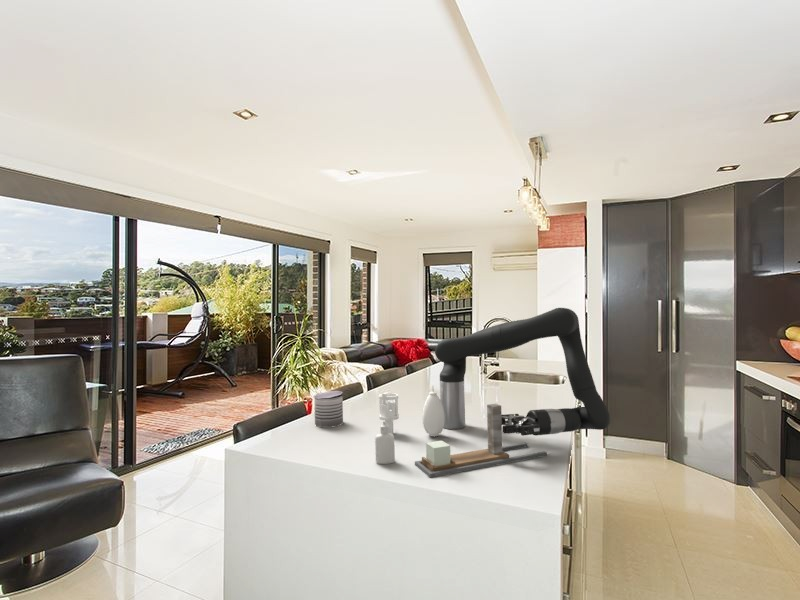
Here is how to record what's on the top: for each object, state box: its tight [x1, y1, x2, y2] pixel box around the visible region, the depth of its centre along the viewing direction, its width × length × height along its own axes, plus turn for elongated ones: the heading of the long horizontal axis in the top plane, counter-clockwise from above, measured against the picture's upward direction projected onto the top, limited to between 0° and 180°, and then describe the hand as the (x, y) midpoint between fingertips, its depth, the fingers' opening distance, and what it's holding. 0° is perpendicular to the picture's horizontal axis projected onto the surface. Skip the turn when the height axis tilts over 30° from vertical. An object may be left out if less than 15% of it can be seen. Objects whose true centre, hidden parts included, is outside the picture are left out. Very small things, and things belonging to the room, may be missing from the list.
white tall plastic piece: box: [378, 391, 400, 435], centre depth 155 cm, size 7×7×15 cm
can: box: [313, 390, 344, 428], centre depth 170 cm, size 11×11×12 cm
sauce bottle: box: [422, 385, 445, 438], centre depth 151 cm, size 8×8×18 cm
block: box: [425, 440, 451, 466], centre depth 121 cm, size 5×5×5 cm
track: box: [414, 442, 548, 478], centre depth 126 cm, size 10×39×1 cm, turn 112°
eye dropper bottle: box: [374, 420, 396, 465], centre depth 127 cm, size 4×6×12 cm
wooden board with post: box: [421, 403, 510, 472], centre depth 124 cm, size 7×25×16 cm, turn 112°
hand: (496, 425), depth 128 cm, fingers open, 8 cm apart
